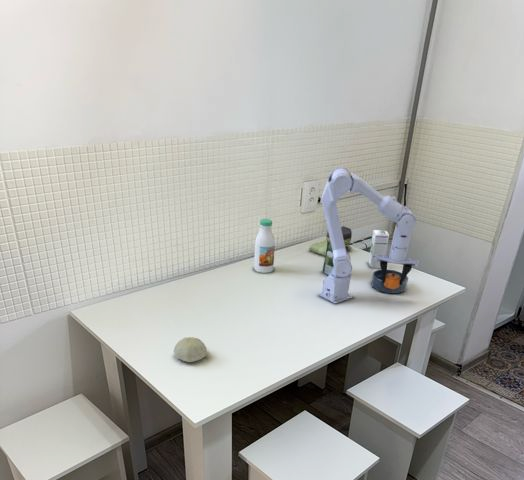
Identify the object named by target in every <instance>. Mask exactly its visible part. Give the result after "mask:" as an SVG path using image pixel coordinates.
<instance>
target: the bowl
mask: <svg viewBox="0 0 524 480" xmlns="http://www.w3.org/2000/svg"><path fill="white" fill-rule="evenodd" d="M393 272H395V274H398V275H399V276H400V278H401V275H402V271H398V270H395V269H388V268H387V270H386V275H387V274H389V273H393ZM386 275H385V276H386ZM382 279H383V276H382V270H381V269H377V270H374V271H373V272H372V276H371V283H370V285H371V287H372V288H374V289H375V290H376V291H379V292H383V293H387V294H399V293H404V292H405V291H406V290H407V287H408V282H409V276H408V275H407V276H406V277H405V279H404V280H403V282H402V285H399V287H398V288H396V289H389V288H387V287H385V285H384V283H382Z"/></svg>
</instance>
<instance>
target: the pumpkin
mask: <svg viewBox="0 0 524 480" xmlns="http://www.w3.org/2000/svg"><path fill="white" fill-rule="evenodd" d="M400 280H401V278H400V276H399V275H398V274H395V272H393V273H389V274H387V275H386V276H385V282H384V285H385V287H387V288H389V289H396V288H398V287H399V285H400Z"/></svg>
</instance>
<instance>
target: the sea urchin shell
mask: <svg viewBox="0 0 524 480" xmlns="http://www.w3.org/2000/svg"><path fill="white" fill-rule="evenodd" d="M173 354H174V356H175V357H176V358H177V359H178V360H181V361H182V362H185V363H193V362H197V361H200V360H202V359H204V358H205V357H206V356H207V345H206V344H205V342H204V341H202V340H201V339H200V338H198V337H195V336H191V337H190V336H188V337H183V338H182V339H180V340H178V341H177V343H176V344H175V345H174V348H173Z"/></svg>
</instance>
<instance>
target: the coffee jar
mask: <svg viewBox="0 0 524 480" xmlns="http://www.w3.org/2000/svg"><path fill="white" fill-rule="evenodd" d="M341 230H342V234H343V239H344V244H345V248H346V252H347V253H348V254H349V251H350V250H349V246H350V244H351V241H352V235H353V234H352V233H353V231H352V228H349V227H347V226H345V225H342V226H341ZM326 239H327V249H326V255H325V256H324V259H323V266H322V273H323V274H324V275H325V276H329V275H330V273H331V270H332V269H333V267H334V264H333V256H334V255H333V250H332V246H331V241H330V237H329V232H328V230H327V233H326V238H325V240H326Z"/></svg>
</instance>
